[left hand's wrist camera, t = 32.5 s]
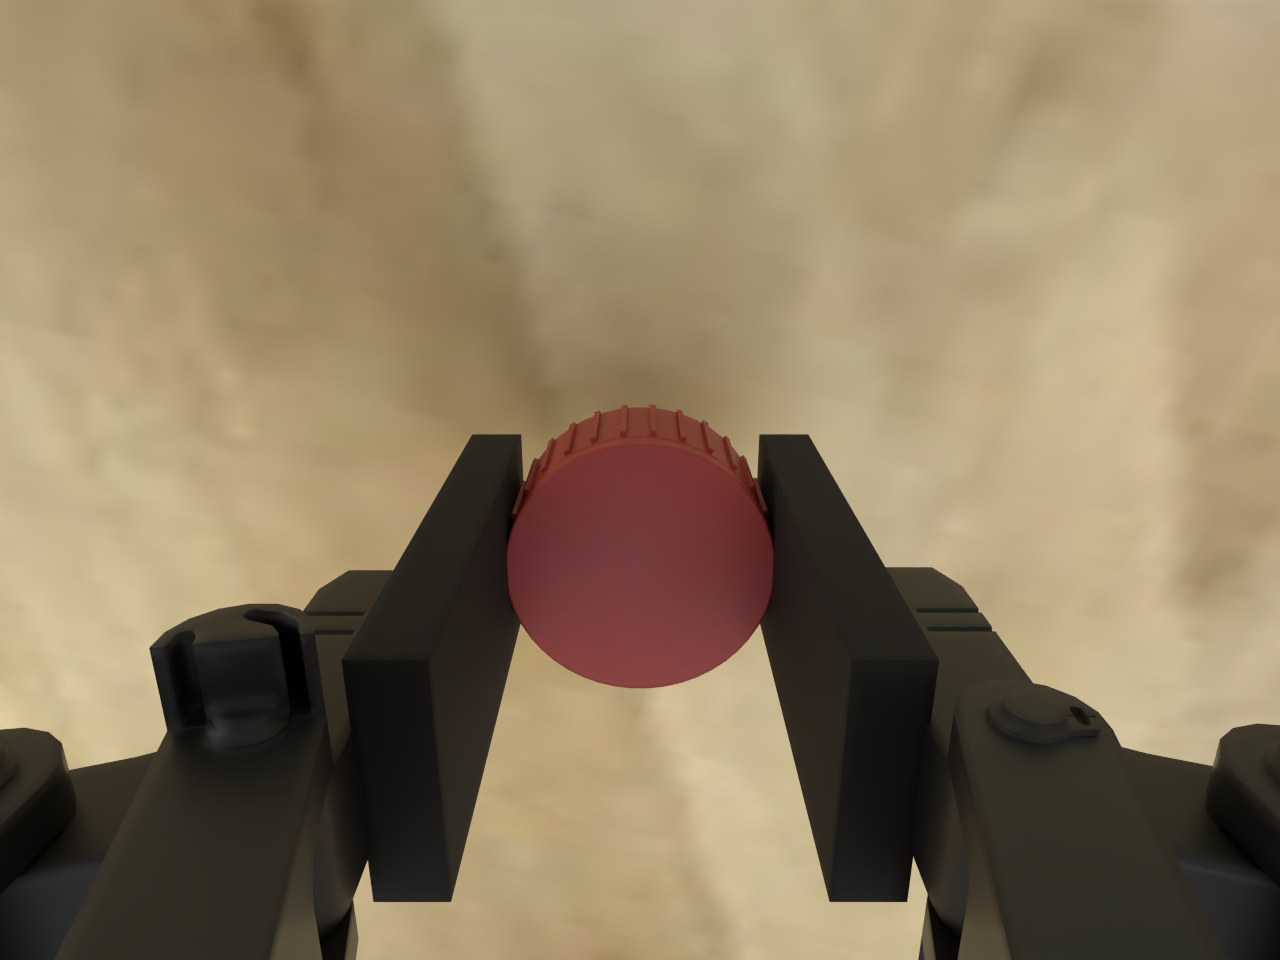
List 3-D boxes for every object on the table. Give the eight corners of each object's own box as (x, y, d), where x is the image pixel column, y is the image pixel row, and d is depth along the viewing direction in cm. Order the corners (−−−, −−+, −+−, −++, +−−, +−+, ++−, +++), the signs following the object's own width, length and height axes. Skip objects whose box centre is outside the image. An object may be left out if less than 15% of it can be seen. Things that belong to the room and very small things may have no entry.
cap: (731, 648, 15) (742, 713, 13) (500, 606, 15) (481, 667, 13) (791, 430, 14) (813, 470, 12) (538, 380, 13) (523, 414, 12)
